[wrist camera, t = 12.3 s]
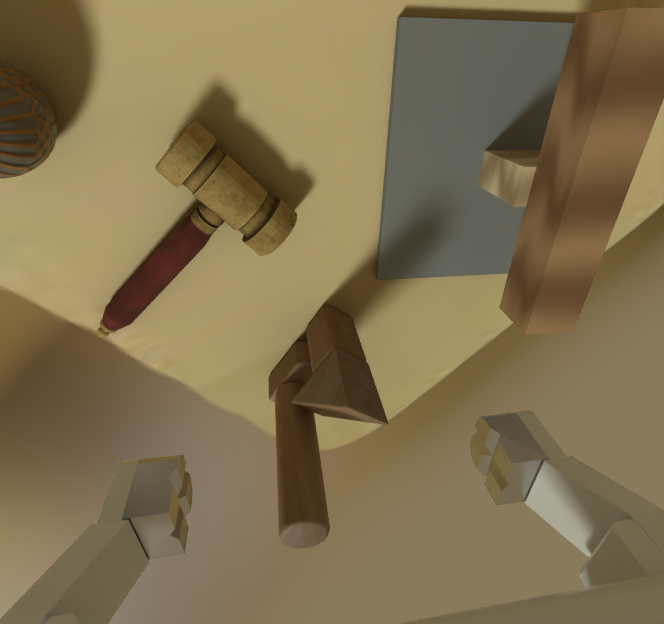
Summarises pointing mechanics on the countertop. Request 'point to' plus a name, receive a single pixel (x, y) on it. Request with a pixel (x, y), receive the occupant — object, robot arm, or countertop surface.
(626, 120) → the walnut bar
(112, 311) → the gavel
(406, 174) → the slate mat
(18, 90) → the vase
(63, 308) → the countertop surface
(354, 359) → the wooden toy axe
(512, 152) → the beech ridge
